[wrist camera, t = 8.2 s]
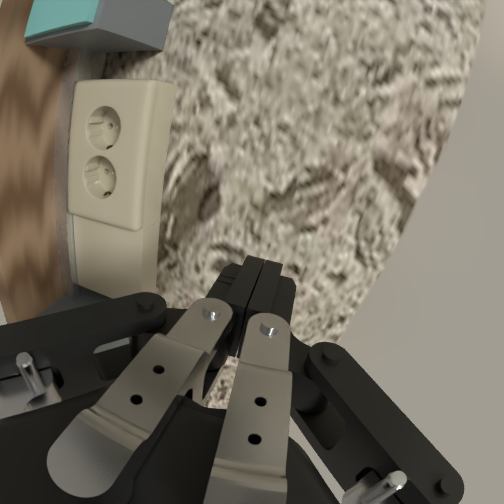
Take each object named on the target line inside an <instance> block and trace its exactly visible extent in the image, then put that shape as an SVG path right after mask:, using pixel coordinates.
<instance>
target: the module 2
mask: <svg viewBox="0 0 504 504" xmlns="http://www.w3.org/2000/svg"><path fill="white" fill-rule="evenodd" d="M110 299H113V298H110V297H108V296H105V295H103V294H100V293H98V292H95V291H93V290H90V289H88V290H86V291H85V292H84V293H83V294H82V295H80V296H79V297H78V298H77V299H76V300H73V299H70V298H68V297H66V296H62V297H61V298H60V299H59V300H57V301H56V302H55V303H54V304H53V305H51V306H50V307H49V308H48V309H46V310H45V311H44V312H43V313H42V314H41V315H39V316H38V317H40V316H44V315H48V314H53V313H57V312H61V311H65V310H69V309H73V308H78V307H82V306H86V305H90V304H94V303H98V302H102V301H106V300H110ZM126 344H129V337H128V338H124V339H121V340H118V341H114V342H111V343H107V344H104V345H101V346H99V347H97V348H96V349H95V351H94V353H98V352H102V351H105V350H109V349H112V348H116V347H119V346H122V345H126Z"/></svg>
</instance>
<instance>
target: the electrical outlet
mask: <svg viewBox="0 0 504 504" xmlns="http://www.w3.org/2000/svg"><path fill="white" fill-rule="evenodd" d="M176 90H177V86H176V85H175V84H172V83H167V82H163V81H158V80H153V79H96V80H80V81H78V82H77V83H76V85H75V91H74V99H73V107H72V116H71V127H70V139H69V157H68V211H69V213H70V214H73V222H74V241H75V255H76V266H77V276H78V285H80V286H83V287H85V288H88V289H90V290H93V291H95V292H98V293H100V294H103V295H105V296H108V297H110V298H113V299H115V298H119V297H123V296H127V295H131V294H135V293H139V292H152V293H155V294H156V277H157V255H158V239H159V225H160V212H161V201H162V191H163V181H164V172H165V164H166V156H167V148H168V141H169V134H170V127H171V120H172V114H173V108H174V102H175V96H176Z"/></svg>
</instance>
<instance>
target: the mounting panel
mask: <svg viewBox="0 0 504 504" xmlns="http://www.w3.org/2000/svg"><path fill="white" fill-rule="evenodd" d="M33 2H34V0H3V1H2V4H1V8H0V301H1V304H2V308H3V311H4V315H5V318H6V321H7V324H10V323H14V322H19V321H23V320H27V319H31V318H36V317H38V316H39V315H41V314H42V313H43V312H44V311H45V310H46V309H48V308H49V307H50V306H51V305H53V304H54V303H55V302H56V301H57V300H59V299H60V298H61V297H62V296H64V295H63V288H62V282H61V274H60V267H59V258H58V249H57V238H56V224H55V203H54V157H55V137H56V123H57V112H58V103H59V95H60V88H61V81H62V74H63V68H64V63H65V58H66V52H67V50H66V49H59V48H51V47H43V46H33V45H25V43H26V38H24V35H25V31H26V27H27V23H28V19H29V16H30V12H31V9H32V5H33Z"/></svg>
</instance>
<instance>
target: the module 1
mask: <svg viewBox="0 0 504 504" xmlns="http://www.w3.org/2000/svg"><path fill="white" fill-rule="evenodd" d="M173 7H174V5H172V4H171V3H169V2H168V1H166V0H34V2H33V5H32V9H31V12H30V16H29V19H28V23H27V27H26V31H25V35H24V38H26V43H25V45H33V46H43V47H51V48H59V49H66V50H68V49H74V48H86V49H91V50H96V51H100V52H105V53H112V52H127V51H163V48H164V44H165V39H166V35H167V31H168V26H169V22H170V18H171V14H172V11H173Z"/></svg>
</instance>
